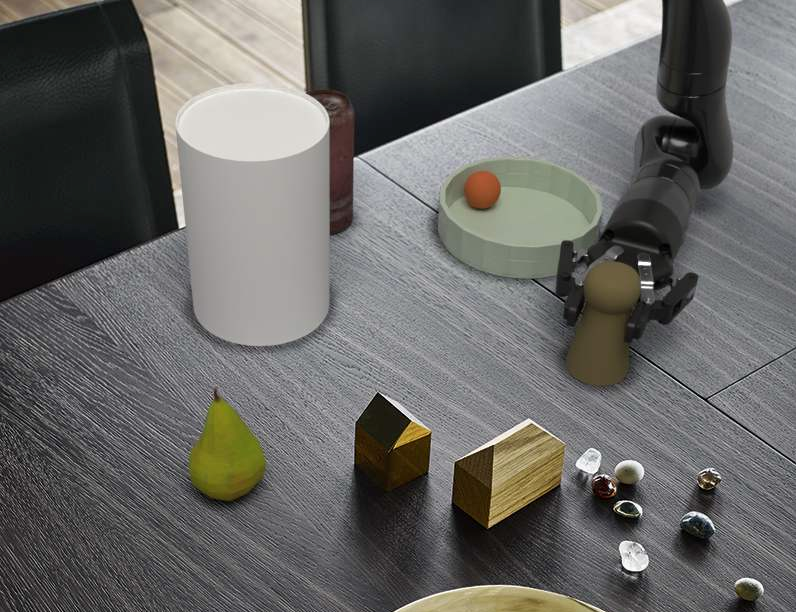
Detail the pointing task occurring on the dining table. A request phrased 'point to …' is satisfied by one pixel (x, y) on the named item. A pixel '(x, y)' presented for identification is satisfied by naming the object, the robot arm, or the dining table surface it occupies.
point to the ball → (482, 189)
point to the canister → (256, 211)
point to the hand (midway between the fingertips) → (600, 326)
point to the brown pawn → (604, 325)
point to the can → (339, 156)
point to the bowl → (519, 217)
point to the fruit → (226, 454)
